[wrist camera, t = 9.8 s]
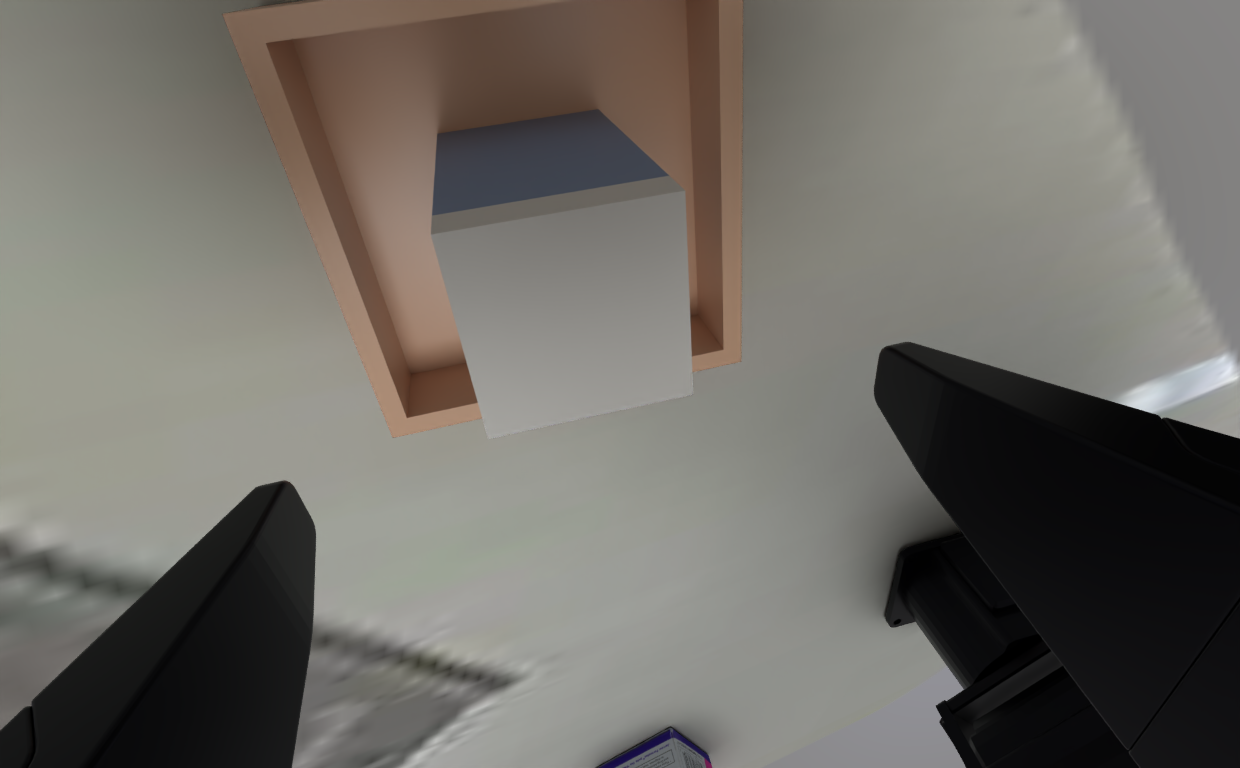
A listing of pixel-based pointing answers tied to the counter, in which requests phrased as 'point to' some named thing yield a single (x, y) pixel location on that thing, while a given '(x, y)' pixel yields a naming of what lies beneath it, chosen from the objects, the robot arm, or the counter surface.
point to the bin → (476, 97)
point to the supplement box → (662, 754)
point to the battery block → (562, 269)
